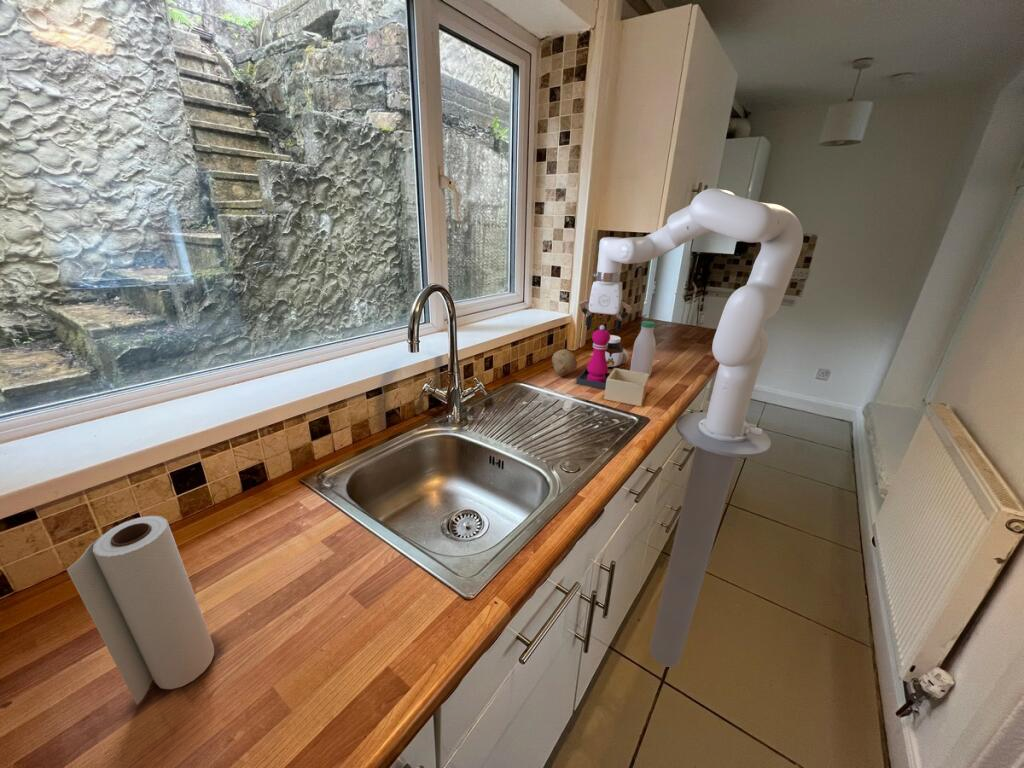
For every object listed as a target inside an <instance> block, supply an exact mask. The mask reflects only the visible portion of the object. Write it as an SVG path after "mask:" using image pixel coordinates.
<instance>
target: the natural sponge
mask: <svg viewBox="0 0 1024 768" xmlns="http://www.w3.org/2000/svg"><path fill="white" fill-rule="evenodd" d="M551 361H552V362H551V363H552V366H553V369H554V371H555V373H556V374H557V375H558V376H559V377H565V376H567V375H568V374H570V373H572V372H574V371H575V370H576V369H577V367H578V361H577V359H576V356H575V355H574V353H573V352H572V351H570V350H569V349H566V348H563V349H558V350H557V351H555V352H554V353H553V355H552V356H551Z"/></svg>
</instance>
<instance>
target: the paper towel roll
mask: <svg viewBox="0 0 1024 768" xmlns="http://www.w3.org/2000/svg"><path fill="white" fill-rule="evenodd" d="M65 570H66V571H67V574H68V576H69V577H70V579H71V581H72V583H73V585H74V587H75V589H76V591H77V594H78V595H79V596H80V598H81V601H82V603H83V605H84V606H85V608H86V611H87V612H88V614H89V616H90V618H91V620H92V622H93V623H94V625H95V627H96V629H97V631H98V633H99V635H100V637H101V639H102V641H103V642H104V645H105V647H106V648H107V651H108V653H109V655H110V656H111V658H112V660H113V662H114V664H115V666H116V668H117V669H118V671H119V674H120V676H121V677H122V679H123V681H124V683H125V685H126V687H127V689H128V691H129V693H130V695H131V696H132V698H133V700H134V702H135V704H136V705H139V704H140V703H141V701H142V700H143V699H144V697H145V695H146V694H147V692H149V689H150V686H151V683H152V681H154V683H155V684H156V685H157V686H158V687H159V689H162V690H163V689H164V690H174V689H179V688H182V687H184V686H186V685H188V684H189V683H192V682H194V681H195V680H196V679H197V678H199V676H201V675H202V674H203V673H204V672H205V671H206V670H207V668H208V667H209V666H210V665H211V664H212V661H213V658H214V656H215V646H214V642H213V640H212V637H211V635H210V632H209V630H208V627H207V624H206V621H205V619H204V616H203V613H202V611H201V607H200V605H199V602H198V600H197V596H196V595H195V592H194V589H193V586H192V583H191V580H190V579H189V575H188V573H187V569H186V568H185V565H184V562H183V559H182V557H181V554H180V552H179V548H178V546H177V542H176V541H175V537H174V535H173V532H172V530H171V527H170V524H169V521H168V519H166V518H164V517H163V516H159V515H146V516H140V517H136V518H133V519H130V520H127V521H124V522H122V523H120V524H118V525H116V526H114V527H112V528H110V529H109V530H108V531H106V532H104V533H103V534H102V535H100V536H99V537H98V538H97V539H96V540H94V541H93V542H92V543H91V544H89V545H88V546H87V548H86V549H85V550H84V552H83V553H82V554H81V556H80V557H79V558H77V560H76V561H75V562H73V563H72V564H71V565H70V566H68V567H67V568H66V569H65Z"/></svg>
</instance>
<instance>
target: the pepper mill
mask: <svg viewBox="0 0 1024 768" xmlns="http://www.w3.org/2000/svg"><path fill="white" fill-rule="evenodd" d="M610 335H611V333H610V332H609V331H608V330H606V327H605V325H604V324H601V325H600V326H599V329H596V330H595V331H594V332H593V333H592V336H591V339H592V341H593V343H592V348H593V353H592V356H591V358H590V360H589V361H588V363H587V366H586V369H587V371H588V372H589V374H588V378H587V379H588V380H591V381H596V382H601V383H603V382H605V378H606V376H605V374H606V373H609V369H608V364H607V361H606V357H605V351H606V349H607V346H608V344H607V343H608V342H609V340H610Z"/></svg>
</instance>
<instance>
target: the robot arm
mask: <svg viewBox="0 0 1024 768" xmlns="http://www.w3.org/2000/svg"><path fill="white" fill-rule="evenodd" d="M710 232H715V233H717V234H720V235H723V236H725V237H728V238H732V239H734V240H736V241H737V240H738V241H740V242H744V243H750V244H751V243H760V244H761V245H760V251H759V252H758V255H757V256H756V258H755V261H754V263H753V265H752V270H751V272H750V275H749V277H748V280H747V282H746V284H745V285H742V286H740V287H739V288H737V289H736V290H735V291H734V292H732V293H731V295H730V296H729V297H728V299H727V301H726V303H725V305H724V308H723V310H722V314H721V315H720V320H719V322H718V326H717V328H716V331H715V334H714V336H713V340H712V346H711V350H712V355H713V358H714V359H715V360H716V361H717V362H718V363H719V365H718V368H717V371H716V376H715V379H714V383H713V388H712V391H711V396H710V400H709V405H708V409H707V411H706V412H707V417H706V419H703V420H701V421H700V422H699V425H698V427H699V429H700V431H701V432H702V433H704V434H705V435H707V436H709V437H711V438H714V439H717V440H720V441H725V442H741V441H743V440H745V439H746V437H747V434H748V433H752V434H755V435H760V436H761V434H762V431H763V428H760V427H757V424H753V423H750V424H747V421H746V417H747V413H748V409H749V407H750V403H751V398H752V395H753V392H754V388H755V385H756V382H757V378H758V375H759V371H760V369H761V366H762V363H763V361H764V358H765V356H766V353H767V351H768V346H769V336H768V333H767V331H766V330H765V329H764V326H765V324H766V321H767V320H768V319H770V318H772V317H773V316H775V315H776V314H777V312H779V309H780V308H781V305H782V302H783V300H784V297H785V294H786V291H787V290H788V287H789V284H790V282H791V279H792V275H793V273H794V270H795V268H796V265H797V262H798V260H799V257H800V254H801V251H802V247H803V245H804V230H803V226H802V224H801V221H800V220H799V219H798V217H797V216H796V215H795V214H794V212H792V211H790V210H789V209H788V208H786V207H784V206H783V205H780V204H776V203H768V202H761V201H757V200H753V199H750V198H747V197H743V196H739V195H736V194H735V193H734V192H732V191H731V190H728V189H724V188H723V189H722V188H718V187H712V188H707V189H703V190H702V191H701V192H700V191H699V193H697V194H696V195H695V196H694V198H693V199H692V200H691V202H690V204H689V205H687V206H685V207H683V208H682V209H679V210H678V211H676V212H673V213H672V214H670V215H669V216H668V217H667V220H666V224H665V225H664V226H662V227H661V228H659V229H658V230H656V231H653V232H651V233H649V234H647V235H645V236H632V237H617V236H605V237H602V238H600V240H599V243H598V255H597V266H596V272H593V273H592V274H591V278H594V279H595V280H594V281H593V282H592V285H591V288H590V289H591V290H590V294H589V298H588V299H585V300H583V301H581V302H579V306H580V309H581V312H582V313H583V314H584V316H585V317H586V318H585V326H586V330H590V329H591V328H592V325H593V324H592V323H593V316H592V314H601V315H611V316H615V317H616V318H617V319H616V323H615V333H619V332H620V331H621V330H622V327H623V320H624V319H625V318H626V317H628V316H629V315H630V313H631V311H632V310H633V307H632V306H631V305H629V304H628V303H626V302H625V301H623V282H621V274H622V266H623V264H625V265H630V264H631V265H633V264H639V263H640V264H641V263H646V262H649V261H652V260H654V259H656V258H659V257H661V256H664V255H665V254H668V253H669V252H671V251H673V250H675V249H677V248H679V247H680V246H682V245H684V244H685V243H688V242H690V241H692V240H695V239H696V238H699V237H702V236H703V235H706V234H709V233H710ZM586 305H588V309H587V308H586ZM622 307H623V308H624V309H625V311H624V313H622V312H621V311H622ZM756 427H757V428H756Z"/></svg>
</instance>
